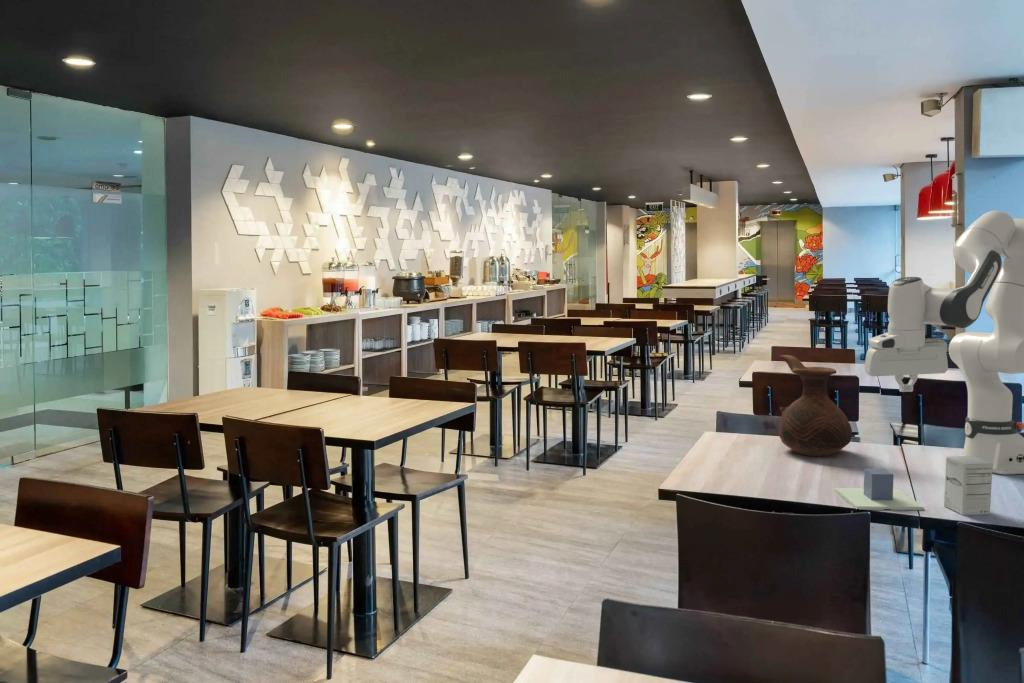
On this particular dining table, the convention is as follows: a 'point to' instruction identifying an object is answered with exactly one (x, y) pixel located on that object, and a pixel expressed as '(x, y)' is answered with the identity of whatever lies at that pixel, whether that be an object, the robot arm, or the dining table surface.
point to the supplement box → (968, 485)
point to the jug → (813, 415)
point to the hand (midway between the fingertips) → (906, 391)
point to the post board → (864, 503)
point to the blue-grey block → (878, 484)
